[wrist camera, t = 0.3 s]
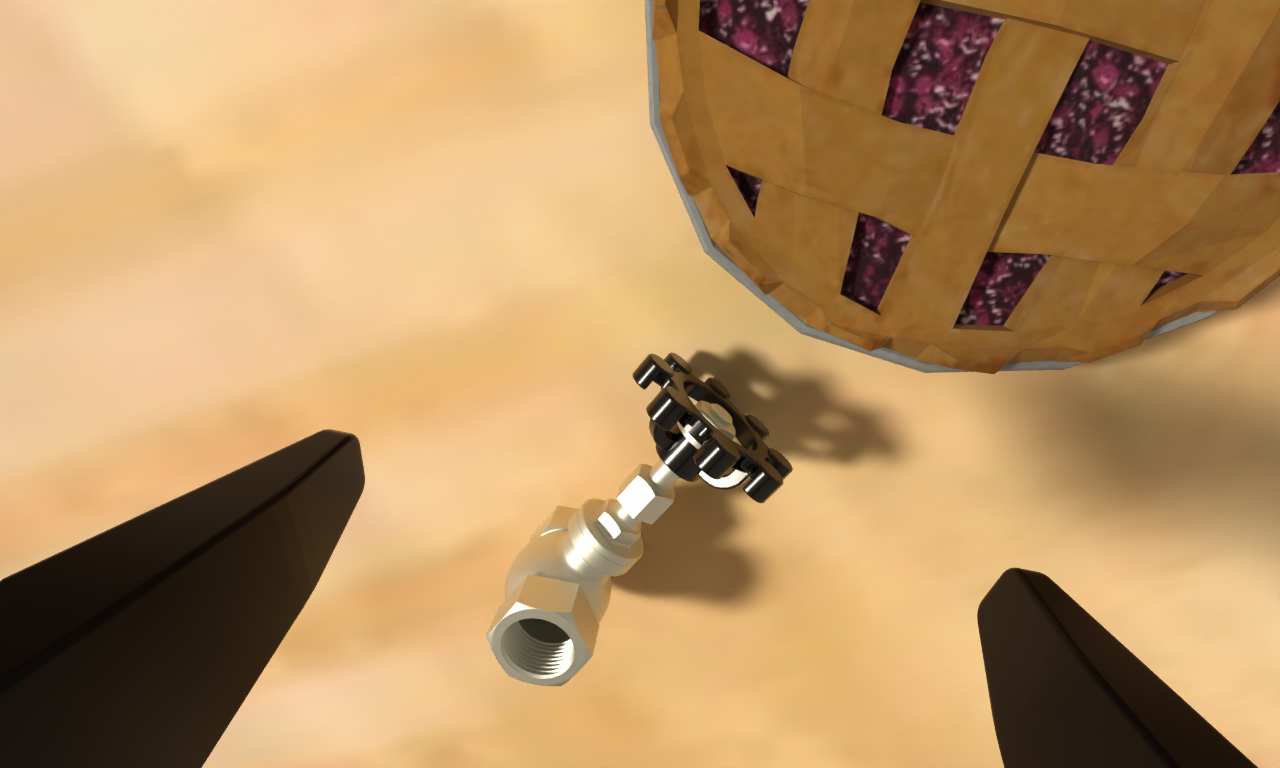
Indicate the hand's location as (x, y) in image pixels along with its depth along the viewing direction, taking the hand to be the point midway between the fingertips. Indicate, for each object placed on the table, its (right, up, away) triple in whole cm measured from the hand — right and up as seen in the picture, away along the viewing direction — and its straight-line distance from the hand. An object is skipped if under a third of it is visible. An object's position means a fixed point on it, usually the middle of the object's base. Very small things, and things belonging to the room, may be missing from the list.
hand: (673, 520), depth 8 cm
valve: (-1, -2, +18) cm, 18 cm away
